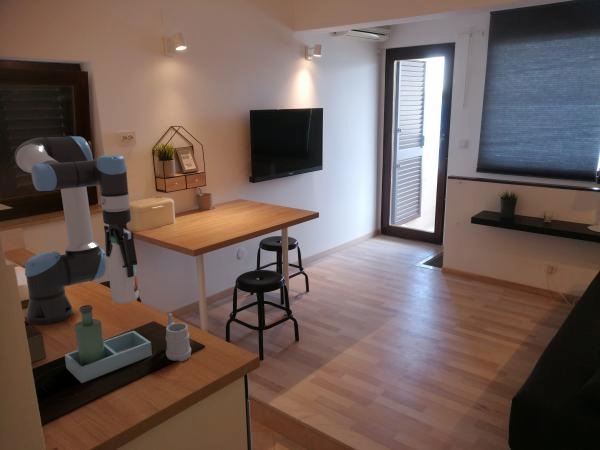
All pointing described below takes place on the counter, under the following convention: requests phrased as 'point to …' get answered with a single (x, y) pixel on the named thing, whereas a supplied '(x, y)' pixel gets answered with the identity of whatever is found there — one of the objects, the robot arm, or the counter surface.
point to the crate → (111, 356)
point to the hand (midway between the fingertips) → (123, 283)
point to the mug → (177, 340)
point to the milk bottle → (120, 277)
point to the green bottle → (89, 337)
